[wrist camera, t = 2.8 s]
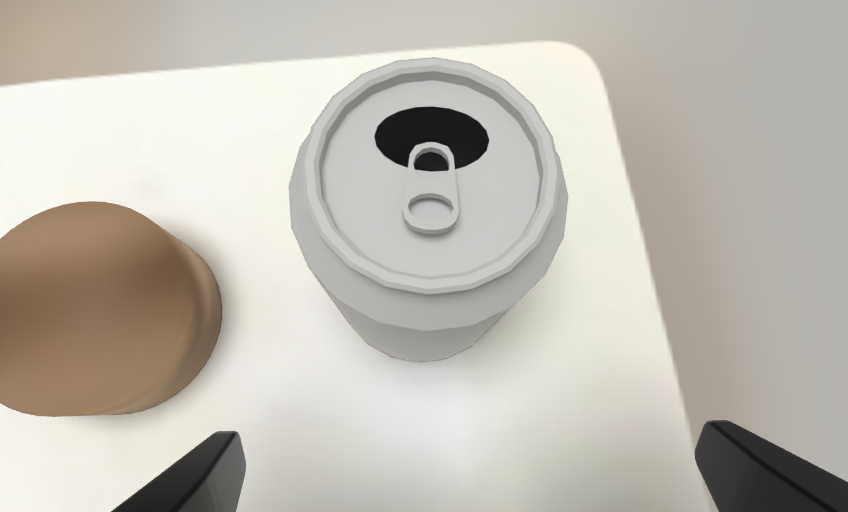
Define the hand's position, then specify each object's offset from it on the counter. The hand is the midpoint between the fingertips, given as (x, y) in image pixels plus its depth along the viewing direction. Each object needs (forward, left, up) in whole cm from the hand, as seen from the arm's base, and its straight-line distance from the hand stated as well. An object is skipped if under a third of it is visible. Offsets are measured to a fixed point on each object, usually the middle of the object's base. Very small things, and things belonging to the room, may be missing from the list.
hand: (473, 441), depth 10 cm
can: (+6, 0, -13) cm, 14 cm away
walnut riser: (+6, +13, -12) cm, 19 cm away
